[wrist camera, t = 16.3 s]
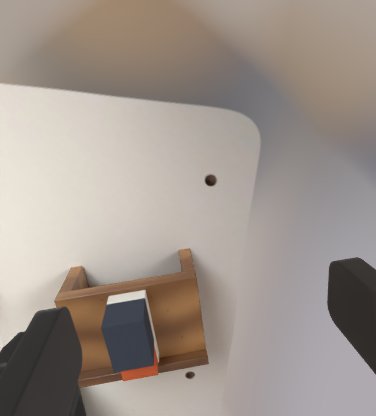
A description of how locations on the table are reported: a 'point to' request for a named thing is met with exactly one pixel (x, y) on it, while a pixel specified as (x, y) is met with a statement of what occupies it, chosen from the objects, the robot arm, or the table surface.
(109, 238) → the table surface
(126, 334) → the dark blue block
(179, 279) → the shoe shelf
